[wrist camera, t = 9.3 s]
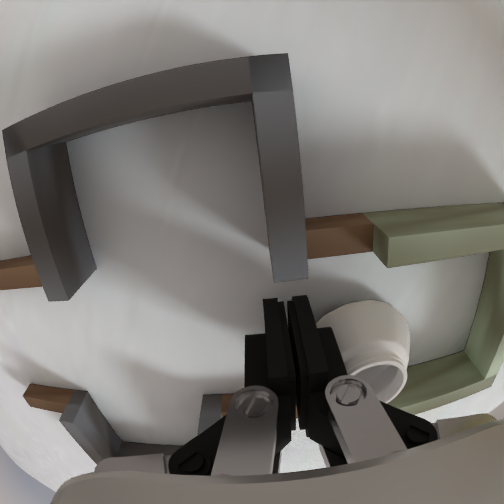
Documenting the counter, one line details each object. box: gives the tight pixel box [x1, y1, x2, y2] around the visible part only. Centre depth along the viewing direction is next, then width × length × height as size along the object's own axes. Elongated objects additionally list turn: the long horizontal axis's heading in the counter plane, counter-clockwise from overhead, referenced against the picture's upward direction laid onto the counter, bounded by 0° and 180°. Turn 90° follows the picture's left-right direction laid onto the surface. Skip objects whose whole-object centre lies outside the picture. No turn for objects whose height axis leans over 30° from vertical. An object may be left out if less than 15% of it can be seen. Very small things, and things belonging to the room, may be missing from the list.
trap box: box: [0, 53, 504, 464], centre depth 12 cm, size 20×28×2 cm
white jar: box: [316, 300, 410, 403], centre depth 12 cm, size 5×3×5 cm
